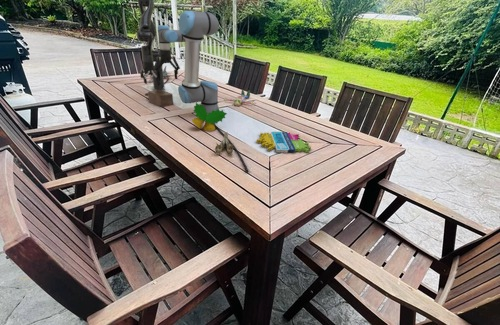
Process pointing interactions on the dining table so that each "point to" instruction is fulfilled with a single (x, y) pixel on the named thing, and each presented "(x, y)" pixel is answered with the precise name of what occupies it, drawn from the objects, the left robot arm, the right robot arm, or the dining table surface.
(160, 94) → the cabinet
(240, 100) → the toy
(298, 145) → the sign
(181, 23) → the right robot arm
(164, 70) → the airplane
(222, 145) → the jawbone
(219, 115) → the ornament
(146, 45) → the left robot arm
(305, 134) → the dining table surface
